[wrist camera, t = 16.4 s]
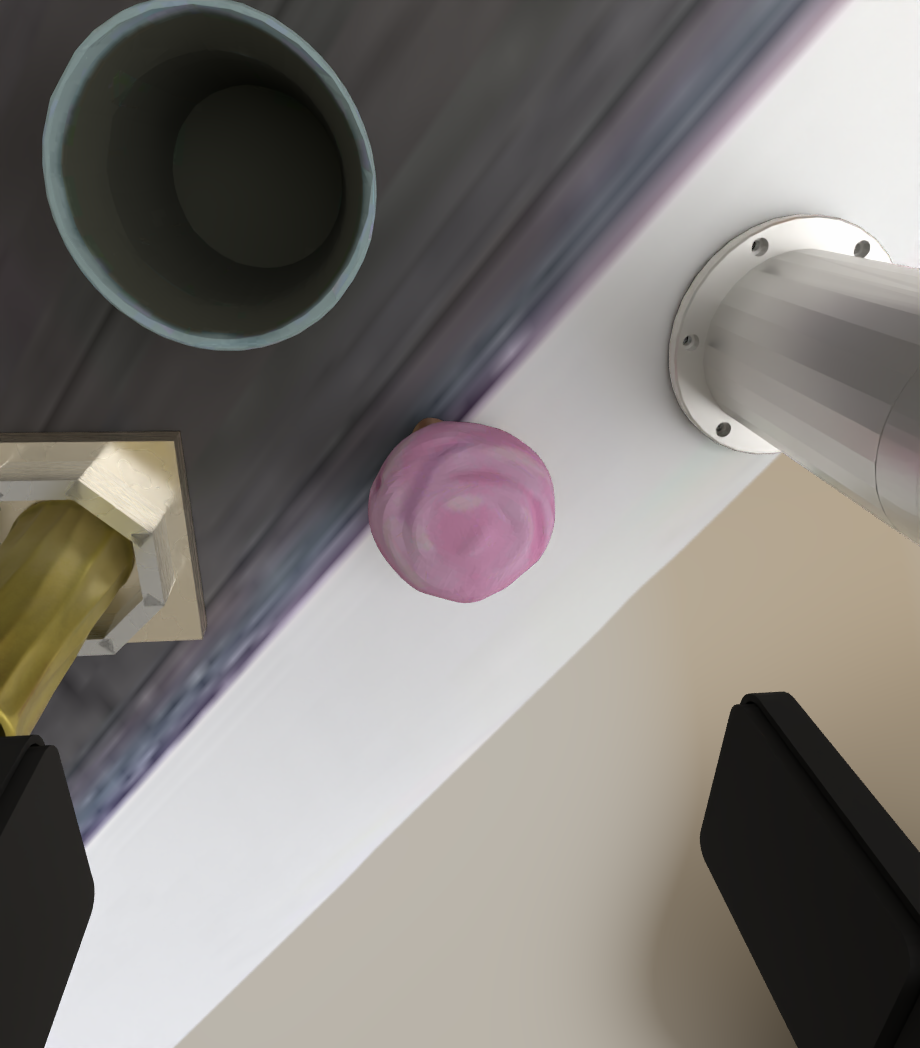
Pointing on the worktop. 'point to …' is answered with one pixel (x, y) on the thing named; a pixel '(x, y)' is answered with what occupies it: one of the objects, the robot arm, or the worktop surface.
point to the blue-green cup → (209, 173)
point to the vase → (51, 601)
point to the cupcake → (461, 509)
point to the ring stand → (119, 522)
